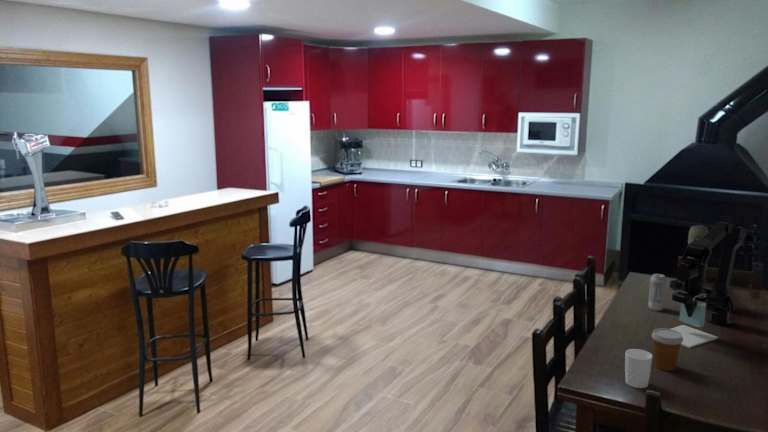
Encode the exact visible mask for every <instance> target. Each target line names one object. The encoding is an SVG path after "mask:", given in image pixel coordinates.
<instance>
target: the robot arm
mask: <svg viewBox="0 0 768 432" xmlns="http://www.w3.org/2000/svg"><path fill="white" fill-rule="evenodd" d="M746 236H747V232H746V230H745V229H744V228H743V227H742V226H735V225H733V224H731V223H730V222H724V221H718V222H717V221H716V223H715V224H714V226H713V227H712V228H711V229H710V230H708V233H707V234H706V235H705V236H704V237H703V238H702V239H699V240H695V241H693V242H691V243H690V244H689V245H687V246H686V248H685V250H684V252H683V254H682V257H681V258H680V265H679V266H677V267H675V268H674V269H675V270H674V272H673V274H674V275H673V276H674V277H675V279H676V280H675V279H674V280H670V282H669V288H670V289H671V290H672V291H675V292H674V293H672V295H671V301H674V302H677V303H679V304H681V303H683V304H684V305H685V308H686V312H687V315H688V317H691V316H692V314H693V312H694V310H695V307H696V305H697V303H698V302H696V301H695V300H698V301H701V302H704V303H706V306H707V307H711V308H712V309H711V311H712V312H711V318H709V319H707V322H709V323H712V324H715V325H717V326H718V325H719V326H720V327H721V326H722V327H724V326H728V325H731V324H732V323H733V322H732V321H730V320H729V315H730V312H735V310H736V307H737V304H736V302H735V300H734V299H733V290H732V288H731V286H730V285H731V279H732V276H733V275H732V273H733V269H734V265H735V259H736V254H737V250H738V249H739V248H740V247H741V246H742V245H743V244H744V241H745V239H746ZM719 242H720V244H721V247H722V249H721V254H720V258H719V264H718V268H717V274H716V279H715V283H713V285H712V286H711V285H710V286H707V285H705V284H707V282H708V280H707V279H706V271H705V269H706V270H707V268H706V264H707V265H708V264H709V259H710V257H711V256H712V254H713V253H712V252H713V250H712V249H713V248H714V247H715V246H717V244H719ZM687 257H689V258H687ZM691 258H694V259H691ZM696 259H697V260H696ZM676 291H678V292H676ZM682 291H683V292H687V293H683V292H682Z"/></svg>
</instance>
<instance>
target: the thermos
mask: <svg viewBox="0 0 768 432" xmlns="http://www.w3.org/2000/svg"><path fill="white" fill-rule="evenodd" d="M689 228H690V229H689V231H688V235H687V244H688V245H689V244H690V243H691V242H693V241H695V240H699V239H702V238H703V237H704V236H705V235H706V234H707V233H708V232H709V229H708V227H707V226H705V225H701V224H700V225H699V224H694V225H692V226H691V227H689ZM688 245H687V246H688ZM687 258H689V257H687ZM691 259H694V258H691ZM696 260H697V259H696ZM707 268H708V264H706V269H705V272H706V270H707ZM681 292H683V291H682V290H681ZM683 293H687V292H683Z"/></svg>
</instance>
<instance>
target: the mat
mask: <svg viewBox="0 0 768 432" xmlns="http://www.w3.org/2000/svg"><path fill="white" fill-rule="evenodd" d="M670 329H671V330H675V331H677V332H679V333H681V334H682V338H683V341H682V343H681V346H683V347H686V348H689V349H691V348H694V347H696V346H699V345H700V346H701V345H703V344H706V343H709V342H711V341H714V340H717V339H718V338H719V337H718V336H716V335H714V334H710V333H708V332H704V331H703V330H700V329H696V328H693V327H691V326H688V325H684V324H682V325H679V326H678V325H677V326H675V327H672V328H670Z"/></svg>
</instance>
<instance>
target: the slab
mask: <svg viewBox="0 0 768 432" xmlns="http://www.w3.org/2000/svg"><path fill="white" fill-rule="evenodd" d="M695 301H696V302H698V303H697V305H696V307H695V310H694V312H693V314H692V316H691V317H688V315H687V312H686V308H685V305H684V304H683V303H680V308H679V319H678V321H679V322H683V323H686V324H688V325H691V326H694V327H696V328H702V327H704V326H705V321H706V320H705V319H706V312H707V311H706V308H707V302H706V303H704V302H701V301H698V300H695Z"/></svg>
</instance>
